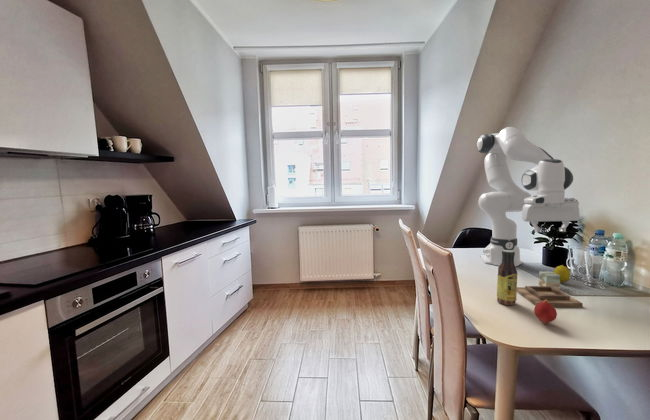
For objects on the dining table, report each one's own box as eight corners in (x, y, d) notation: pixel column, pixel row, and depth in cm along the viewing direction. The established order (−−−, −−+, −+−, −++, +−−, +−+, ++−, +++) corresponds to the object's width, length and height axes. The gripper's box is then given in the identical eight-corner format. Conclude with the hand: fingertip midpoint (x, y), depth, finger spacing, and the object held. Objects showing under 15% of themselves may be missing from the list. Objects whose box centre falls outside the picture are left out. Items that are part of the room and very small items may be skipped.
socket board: (514, 290, 119) (515, 283, 119) (554, 291, 117) (554, 284, 117) (536, 306, 104) (536, 298, 104) (582, 307, 102) (582, 299, 102)
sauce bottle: (509, 307, 104) (511, 254, 102) (493, 301, 110) (493, 250, 108) (520, 303, 107) (521, 251, 105) (503, 297, 113) (504, 248, 111)
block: (538, 285, 124) (539, 271, 124) (551, 285, 124) (552, 271, 123) (546, 289, 119) (546, 275, 119) (559, 289, 119) (559, 275, 118)
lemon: (572, 285, 122) (573, 267, 121) (558, 285, 123) (558, 266, 122) (564, 281, 127) (565, 263, 127) (550, 280, 129) (551, 263, 128)
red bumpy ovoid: (529, 319, 95) (529, 296, 94) (545, 318, 96) (546, 295, 95) (543, 328, 89) (544, 303, 89) (561, 327, 90) (562, 302, 89)
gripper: (572, 197, 120) (572, 230, 121) (520, 199, 123) (519, 231, 124) (584, 198, 114) (583, 232, 115) (528, 199, 116) (527, 233, 117)
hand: (549, 232), depth 119 cm, fingers open, 8 cm apart
